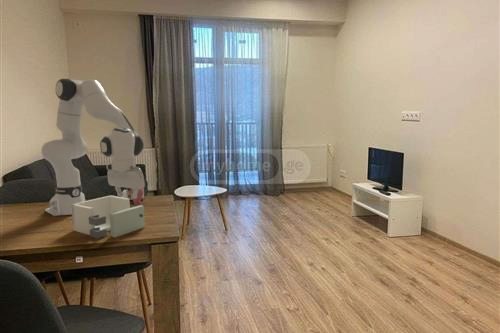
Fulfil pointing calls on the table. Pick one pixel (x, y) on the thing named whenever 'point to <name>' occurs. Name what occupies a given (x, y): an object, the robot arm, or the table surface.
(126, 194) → the spread jar
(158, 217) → the table surface
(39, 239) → the table surface
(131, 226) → the door
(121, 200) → the cabinet
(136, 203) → the light bulb
